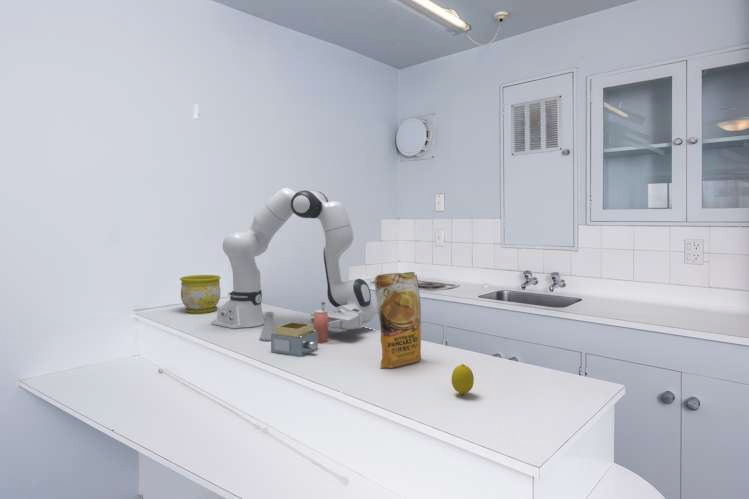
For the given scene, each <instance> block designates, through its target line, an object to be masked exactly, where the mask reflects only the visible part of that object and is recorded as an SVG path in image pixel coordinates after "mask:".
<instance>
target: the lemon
mask: <svg viewBox="0 0 749 499" xmlns="http://www.w3.org/2000/svg"><path fill="white" fill-rule="evenodd" d="M451 374H452V375H451V385H452V387H453V389H454V390H455V391H456V392H458V393H459V395H461V396H464V395H465V394H467V393H469V392H470V391H471V390H472V388H473V386H474V380H475V378H474V377H475V376H474V373H473V371H472V369H471V368H470V367H469V366H467V365H465V364H464V363H461V364H459V365H457V366H455V368H454V369H453V370H452V373H451Z"/></svg>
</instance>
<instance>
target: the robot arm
mask: <svg viewBox="0 0 749 499" xmlns="http://www.w3.org/2000/svg"><path fill="white" fill-rule="evenodd" d="M293 215H296V216H297V217H300V218H302V219H318V220H319V222H320V223H321V226H322V230H323V233H324V236H325V239H324V240H325V242H324V243H325V245H324V248H323V253H322V254H323V261H324V262H323V263H324V269H325V270H324V271H325V276H326V284H327V285H326V286H327V292H326V293H327V299H328V301H329V302H330V304H331V305H332V306H334V308H335V309H334V311H332V310H327V309H325V310H326V312H328V322H327V324H328V325H327V326H328V328H333V327H335V328H339V329H347V330H352V329H353V330H354V329H362V328H363V325H364V324H367V323H369V322H372V320H374V319H375V317H377V316H376V315H377V314H378V306H377V304H376V303H375V301H373V299H372V298H371V297H372V296H371V289H370V287H369V284H368V283H367V282H366V281H365V280H363V279H362V278H356V279H350V280H347V281H346V280H345V281H343V280H342V277H341V270H340V263H339V262H340V258H341V256H342V255H343V254H344V253H345V252H346V251H348V249H349V248H350V247H351V245H352V244H353V241H354V231H353V228H352V224H351V221H350V217H349V215H348V213H347V211H346V209H345V206H344V204H342V203H341V202H340V201H337V200H335V201H334V200H332V201H329V199H328V197H327V196H326V195H325V194H324V193H322V192H321V191H316V190H313V189H308V190H299V191H298V192H296V191H295V190H293V189H291V188H290V187H282V188H281V189H279V190H278V191H277V192H275V193H274V194H273V195H272V196H271V197H269V199H268V200H267V201H266V202H265V203H264V204H263V205H262V206H261V208H260V209H259V210H258V211H257V212H256V213H255V214H254V216H253V221H252V223H251V225H250V226H249V227H248V229H246V230H244V231H235V232H232V233H231V234H228V235H227V236H225V238H224V239H223V241H222V250H223V252H224V255H226V256H227V258H228V260H229V263H230V266H231V272H232V285H233V286H232V287H233V288H232V289H233V290H232V291H231V292H227V294H228V295H227V296H229V297H230V298H229V299H228V301H226V303H224V304H223V305H222V306H220V307H219V308H218V309H217V315H216V318H215V319H214V320H211V322H210V324H211V325H213V326H214V325H215V326H218V327H219V326H220V327H225V328H228V329H239V328H240V329H243V328H253V327H260V326H262V325H263V326H264V324H265V318H264V314H263V308H262V307H263V306H262V298H263V296H262V295H263V293H262V289H261V288H262V287H261V271H260V270H259V268H258V266H257V262H256V257H258V256H261V255H262V254H263V253H265V252H266V251H267V249H268V247H269V244H270V243H271V240H272V239H273V237H274V236H275V234H277V232H279V230H280V229H281V227H283V225H284V224H286V223H287V221H288V220H289V219H290V218H291V217H292V216H293ZM314 312H315V311H312V312H311V313H310V317H309V319H308V322H309V323H308V324H314Z"/></svg>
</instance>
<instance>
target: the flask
mask: <svg viewBox="0 0 749 499" xmlns="http://www.w3.org/2000/svg"><path fill="white" fill-rule="evenodd" d="M264 315H265V318H264V321H265V323H264V324H263V328H262V330H261V334H260V336H259V339H258V340H259V341H264V342H266V341H267V342H268V341H269V342H271V334H273V332H276V330H275V327H276V325H275V322H274V321H275V320H274V316H273V315H274V311H265V312H264Z"/></svg>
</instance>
